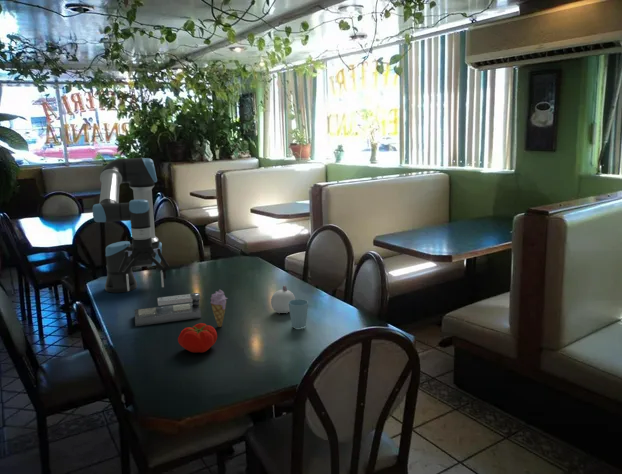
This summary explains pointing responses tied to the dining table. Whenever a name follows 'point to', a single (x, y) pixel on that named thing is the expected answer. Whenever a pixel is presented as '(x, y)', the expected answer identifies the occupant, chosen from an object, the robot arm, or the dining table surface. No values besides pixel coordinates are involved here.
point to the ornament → (282, 300)
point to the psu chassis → (167, 313)
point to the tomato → (197, 338)
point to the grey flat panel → (178, 299)
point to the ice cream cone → (218, 306)
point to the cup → (298, 312)
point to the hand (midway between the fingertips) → (145, 288)
